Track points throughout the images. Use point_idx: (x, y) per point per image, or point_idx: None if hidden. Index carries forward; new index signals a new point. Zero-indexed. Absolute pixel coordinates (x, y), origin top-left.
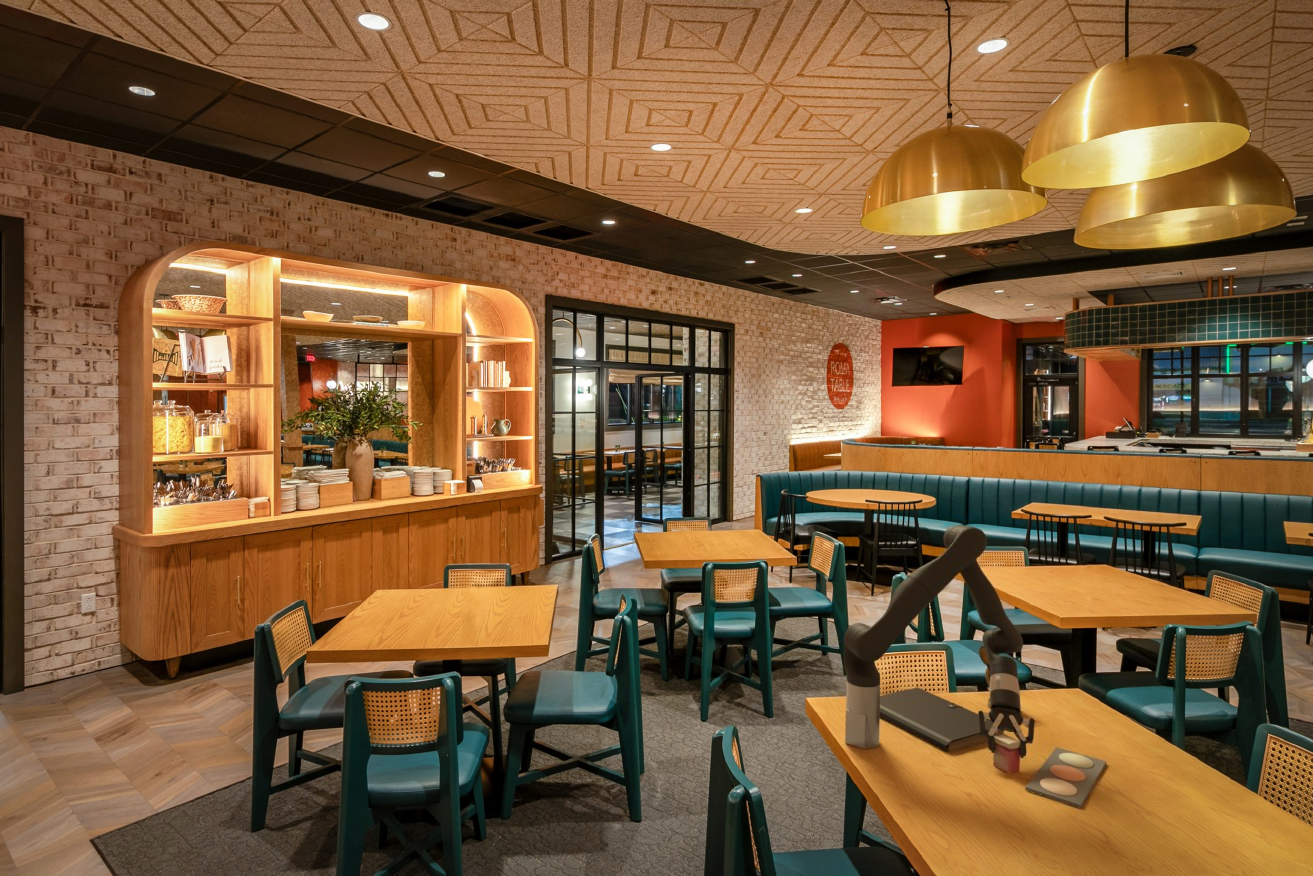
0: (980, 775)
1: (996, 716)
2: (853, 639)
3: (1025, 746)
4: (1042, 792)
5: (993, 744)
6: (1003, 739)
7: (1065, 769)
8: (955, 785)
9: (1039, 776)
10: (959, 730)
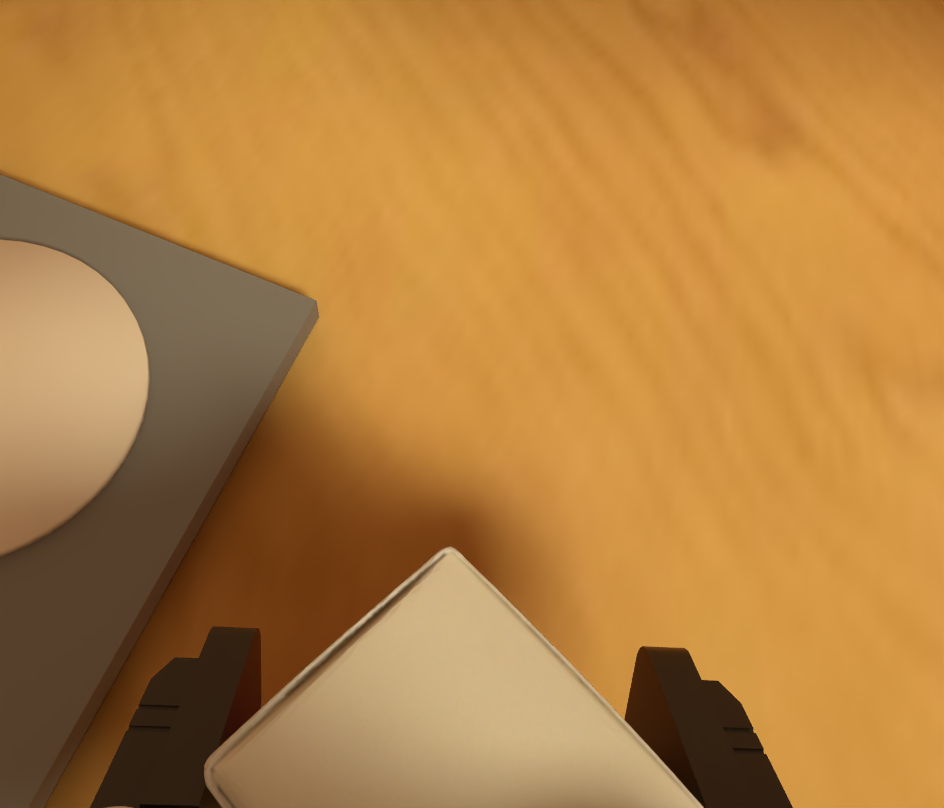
0: (711, 480)
1: None
2: None
3: (123, 760)
4: (177, 247)
5: (682, 702)
6: (538, 727)
7: None
8: (887, 227)
9: (89, 595)
10: None
